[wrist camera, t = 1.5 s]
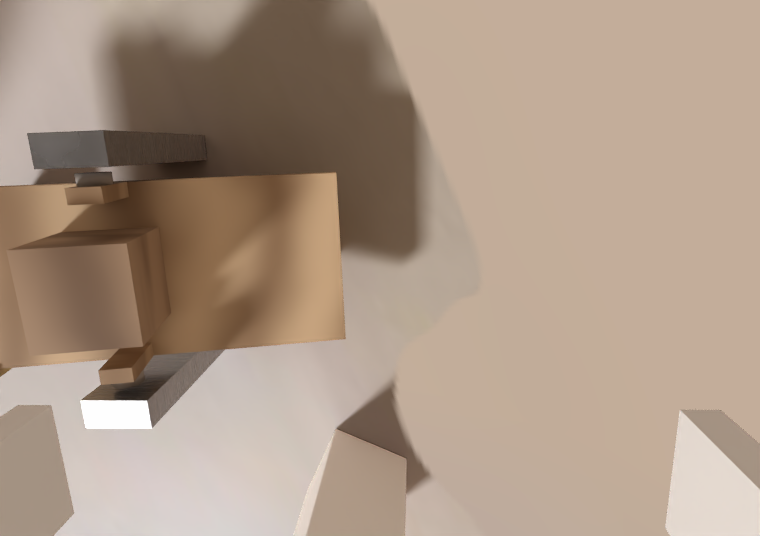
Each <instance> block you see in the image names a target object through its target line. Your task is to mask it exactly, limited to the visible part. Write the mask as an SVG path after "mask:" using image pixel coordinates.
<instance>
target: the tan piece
mask: <svg viewBox="0 0 760 536" xmlns="http://www.w3.org/2000/svg"><path fill="white" fill-rule="evenodd" d="M74 176H75V181H76V183H65V184H41V185H18V186H0V377H1V376H2V375H3V374H5V373H6V372H7V371H9V370H10V369H11V368H15V367H26V366H38V365H50V364H61V363H73V362H84V361H96V360H107V359H109V360H108V361H107V362H106V363H105V364H104V365H103V366H102V367H101V368H100V370H99V376H100V382H101V385H107V384H112V386H113V387H114V388H116V389H125V388H131V387H134V386H137V385H139V384H141V383H142V382H143V381H144V380H145V375H144V368H145V367H146V365H147V364H148V363H149V361H150V360H151V359H152V357H153V356H154V355H165V354H177V353H188V352H200V351H212V350H223V349H235V348H246V347H258V346H270V345H281V344H293V343H304V342H316V341H327V340H339V339H346V338H345V320H344V302H343V284H342V266H341V248H340V230H339V212H338V194H337V176H336V172H326V173H302V174H278V175H255V176H231V177H207V178H184V179H160V180H136V181H113V178H112V172H92V173H76V174H74ZM146 227H159V232H160V239H161V246H162V253H163V260H164V267H165V274H166V281H167V287H168V294H169V301H170V308H171V314H170V315H169V316H168V317H167V319H166V320H165V321H164V322H163V323H162V325H161V326H160V327H159V328H158V329H157V331H156V332H155V333H154V334H153V335H152V337H151V338H150V339H149V340H148V341H147V343H146V344H145V345H144V346H143V347H131V348H119V349H108V350H96V351H84V352H72V353H60V354H48V355H36V356H30V355H29V351H28V346H27V342H26V337H25V332H24V328H23V323H22V319H21V314H20V310H19V305H18V301H17V296H16V292H15V287H14V283H13V278H12V274H11V269H10V265H9V260H8V256H7V251H6V250H9V249H12V248H15V247H18V246H21V245H24V244H27V243H30V242H33V241H36V240H39V239H42V238H45V237H48V236H51V235H54V234H57V233H60V232H72V231H90V230H109V229H127V228H146Z"/></svg>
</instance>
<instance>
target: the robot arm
mask: <svg viewBox="0 0 760 536" xmlns="http://www.w3.org/2000/svg"><path fill="white" fill-rule="evenodd" d="M73 514H74V510H73V505H72V501H71V496H70V491H69V487H68V482H67V477H66V473H65V468H64V463H63V458H62V454H61V449H60V444H59V440H58V435H57V430H56V426H55V421H54V416H53V411H52V407H51V405H18V406H16V407H15V408H13V409H12V410H10V411H9V412H7V413H6V414H4V415H2V416H1V417H0V536H53V535H54V534H55V533H56V532H57V531H58V530H59V529H60V528H61V527H62V526H63V525H64V524H65V523H66V521H67V520H68V519H69V518H70V517H71V516H72V515H73ZM665 528H666V529H667V531H668V533H669V534H670V536H760V444H759V443H758V442H757V441H756V440H755V439H754V438H752V437H751V436H750V435H749V434H748V433H747V432H745V431H744V430H743V429H742V428H741V427H740V426H739V425H737V424H736V423H735V422H734V421H733V420H732V419H730V418H729V417H728V416H727V415H726V414H725V413H724V412H722V411H721V410H680V413H679V421H678V429H677V438H676V446H675V454H674V462H673V470H672V478H671V486H670V494H669V502H668V511H667V519H666V526H665Z"/></svg>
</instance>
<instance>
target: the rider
mask: <svg viewBox="0 0 760 536" xmlns="http://www.w3.org/2000/svg"><path fill="white" fill-rule="evenodd" d="M6 251H7V256H8V260H9V265H10V269H11V274H12V278H13V283H14V287H15V292H16V296H17V301H18V305H19V310H20V314H21V319H22V323H23V328H24V332H25V337H26V342H27V346H28V351H29V355H30V356H36V355H48V354H60V353H72V352H84V351H96V350H108V349H119V348H131V347H143V346H144V345H145V344H146V343H147V341H148V340H149V339H150V338H151V337H152V335H153V334H154V333H155V332H156V331H157V329H158V328H159V327H160V326H161V325H162V323H163V322H164V321H165V320H166V319H167V317H168V316H169V315H170V314H171V308H170V301H169V294H168V287H167V281H166V274H165V267H164V260H163V253H162V246H161V239H160V232H159V227H146V228H127V229H109V230H90V231H72V232H60V233H57V234H54V235H51V236H48V237H45V238H42V239H39V240H36V241H33V242H30V243H27V244H24V245H21V246H18V247H15V248H12V249H9V250H6Z"/></svg>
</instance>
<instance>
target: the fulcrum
mask: <svg viewBox="0 0 760 536" xmlns="http://www.w3.org/2000/svg"><path fill="white" fill-rule="evenodd" d="M27 135H28V140H29V145H30V150H31V155H32V160H33V165H34V169H55V168H84V167H111V166H126V165H141V164H155V163H170V162H185V161H199V160H207V155H206V147H205V138H204V135H186V134H166V133H146V132H126V131H106V130H99V131H74V132H49V133H27ZM224 350H225V349H223V350H212V351H200V352H188V353H177V354H165V355H154V356H153V357H152V359H151V360H150V361H149V363H148V364H147V365H146V367H145V368H144V375H145V380H144V381H143V382H142V383H141V384H139V385H137V386H134V387H131V388H125V389H116V388H114V387H113V386H112V384H107V385H100V386H99V387H98V388H96V389H95V390H94V391H92V392H91V393H90V394H88V395H87V396H86V397H84V398H83V399H82V400H80V401H81V406H82V411H83V416H84V421H85V426H86V428H153V426H154V425H155V424H156V423H157V422H158V421H159V420H160V419H161V418H162V417H163V416H164V415H165V414H166V412H167V411H168V410H169V409H170V408H171V407H172V406H173V405H174V404H175V403H176V402H177V401H178V400H179V398H180V397H181V396H182V395H183V394H184V393H185V392H186V391H187V390H188V389H189V388H190V387H191V386H192V384H193V383H194V382H195V381H196V380H197V379H198V378H199V377H200V376H201V375H202V374H203V373H204V372H205V370H206V369H207V368H208V367H209V366H210V365H211V364H212V363H213V362H214V361H215V360H216V359H217V358H218V356H219V355H220V354H221V353H222V352H223V351H224Z"/></svg>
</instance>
